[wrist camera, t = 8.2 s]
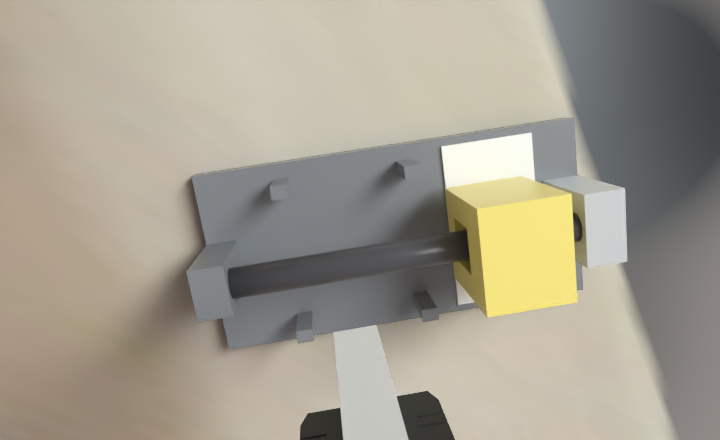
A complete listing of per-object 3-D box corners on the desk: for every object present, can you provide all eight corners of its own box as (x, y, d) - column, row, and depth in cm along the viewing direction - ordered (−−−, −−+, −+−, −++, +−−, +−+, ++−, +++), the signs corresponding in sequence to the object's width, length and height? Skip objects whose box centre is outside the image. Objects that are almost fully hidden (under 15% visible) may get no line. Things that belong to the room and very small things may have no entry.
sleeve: (444, 188, 34) (476, 209, 27) (521, 175, 34) (571, 193, 27) (454, 276, 35) (487, 317, 28) (527, 264, 35) (577, 302, 29)
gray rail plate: (195, 174, 35) (167, 191, 28) (565, 117, 36) (622, 121, 29) (231, 342, 37) (214, 393, 31) (574, 283, 39) (628, 321, 32)
